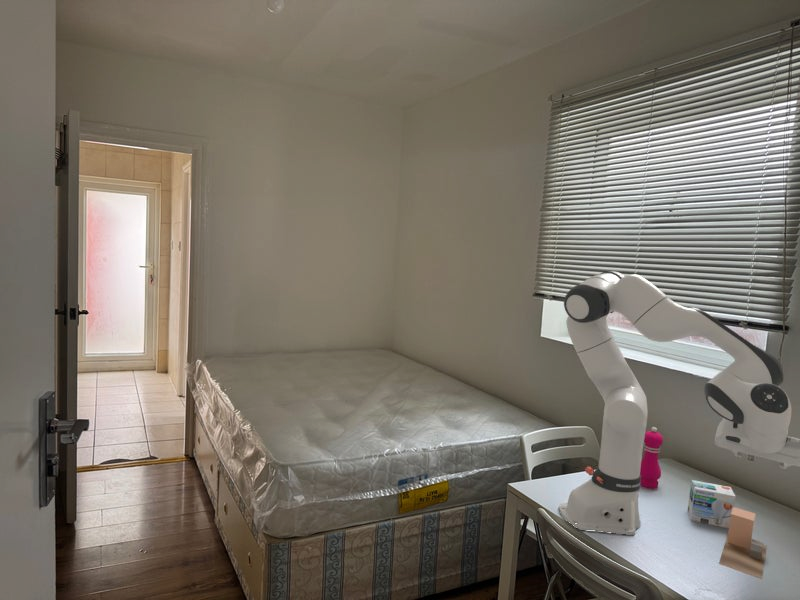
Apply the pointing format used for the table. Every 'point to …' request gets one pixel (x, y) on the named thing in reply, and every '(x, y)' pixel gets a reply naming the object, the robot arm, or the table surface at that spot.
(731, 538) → the peach rectangular block
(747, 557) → the board
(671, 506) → the table surface
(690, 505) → the light bulb box
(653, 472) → the pepper mill
